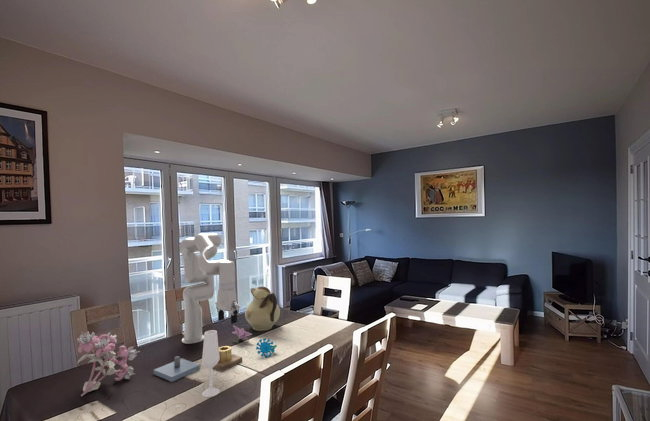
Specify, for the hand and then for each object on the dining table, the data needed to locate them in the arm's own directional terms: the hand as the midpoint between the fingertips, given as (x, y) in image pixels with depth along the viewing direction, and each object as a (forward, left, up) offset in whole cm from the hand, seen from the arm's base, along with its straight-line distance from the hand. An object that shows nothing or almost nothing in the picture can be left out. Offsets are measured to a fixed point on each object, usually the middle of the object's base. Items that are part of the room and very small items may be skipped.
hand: (227, 321), depth 156 cm
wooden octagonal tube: (-1, -1, -18) cm, 18 cm away
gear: (+10, +17, -20) cm, 28 cm away
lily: (-15, +23, -20) cm, 34 cm away
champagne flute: (+16, -22, -20) cm, 34 cm away
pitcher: (-21, +48, -20) cm, 56 cm away
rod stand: (-1, -1, -20) cm, 20 cm away
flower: (-28, -39, -20) cm, 52 cm away
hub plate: (-13, -18, -20) cm, 30 cm away
